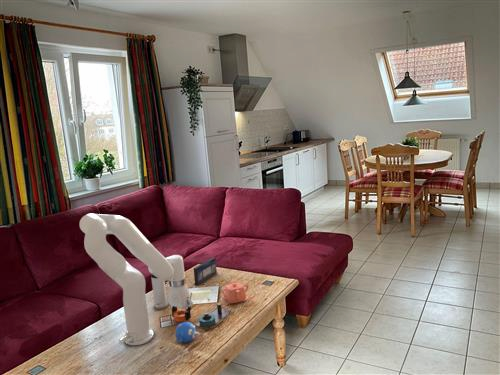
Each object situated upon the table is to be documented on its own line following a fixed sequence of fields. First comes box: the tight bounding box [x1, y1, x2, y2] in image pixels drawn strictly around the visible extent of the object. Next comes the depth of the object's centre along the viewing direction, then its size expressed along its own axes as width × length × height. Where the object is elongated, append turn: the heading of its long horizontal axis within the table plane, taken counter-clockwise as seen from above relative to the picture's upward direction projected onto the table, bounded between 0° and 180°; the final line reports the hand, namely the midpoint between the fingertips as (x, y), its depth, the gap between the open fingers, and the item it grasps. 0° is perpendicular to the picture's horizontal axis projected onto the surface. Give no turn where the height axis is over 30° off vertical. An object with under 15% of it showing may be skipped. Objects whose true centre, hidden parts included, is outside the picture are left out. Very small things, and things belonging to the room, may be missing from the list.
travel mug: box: [150, 273, 168, 310], centre depth 213 cm, size 6×7×20 cm
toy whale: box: [174, 321, 203, 344], centre depth 179 cm, size 12×12×8 cm
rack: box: [195, 302, 232, 329], centre depth 197 cm, size 18×8×6 cm, turn 149°
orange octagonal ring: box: [173, 308, 187, 323], centre depth 198 cm, size 7×7×2 cm
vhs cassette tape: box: [193, 257, 218, 286], centre depth 246 cm, size 18×3×10 cm, turn 147°
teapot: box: [222, 282, 250, 304], centre depth 215 cm, size 12×12×10 cm
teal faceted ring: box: [198, 313, 217, 328], centre depth 193 cm, size 7×7×2 cm
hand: (181, 317), depth 198 cm, fingers closed on orange octagonal ring, 7 cm apart
